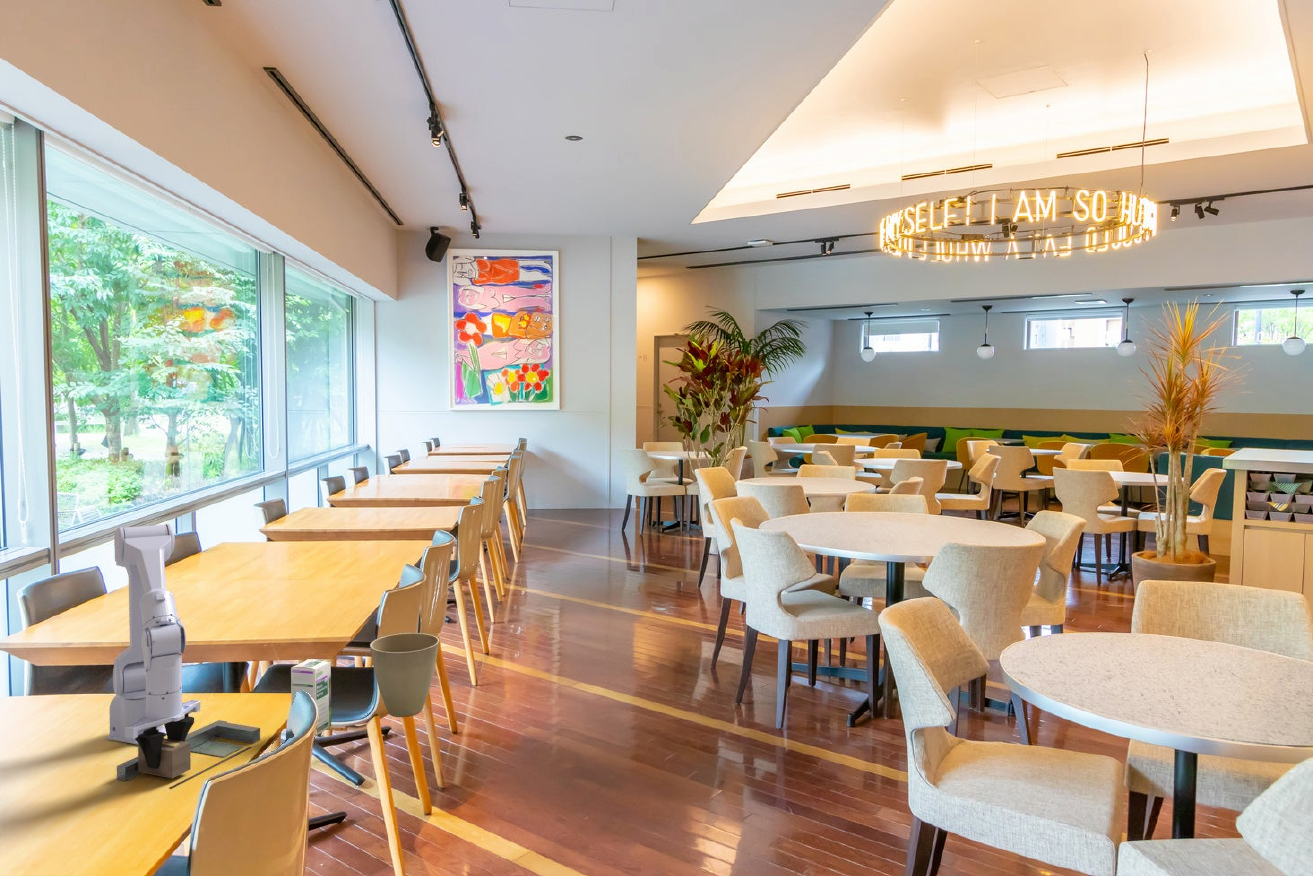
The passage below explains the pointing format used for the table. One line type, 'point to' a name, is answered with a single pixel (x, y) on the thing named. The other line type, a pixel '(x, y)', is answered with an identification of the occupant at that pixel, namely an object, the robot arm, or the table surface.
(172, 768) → the taupe rectangular block
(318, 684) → the syrup box
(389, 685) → the plant pot
